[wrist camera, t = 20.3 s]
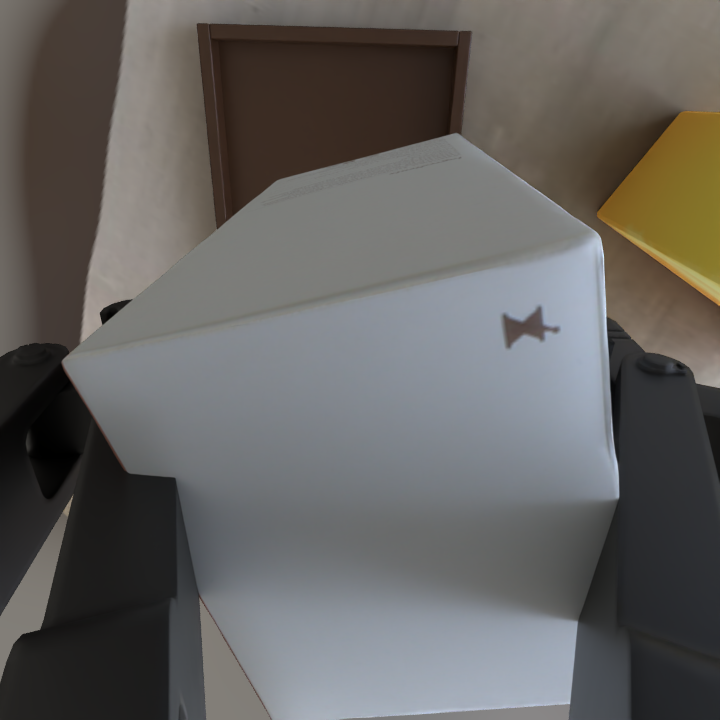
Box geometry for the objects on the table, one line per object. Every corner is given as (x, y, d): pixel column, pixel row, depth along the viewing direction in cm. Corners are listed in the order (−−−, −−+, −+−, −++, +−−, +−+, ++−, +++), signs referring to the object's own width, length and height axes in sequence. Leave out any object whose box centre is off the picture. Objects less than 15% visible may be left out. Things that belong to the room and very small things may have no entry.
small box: (273, 178, 17) (35, 351, 6) (460, 128, 16) (624, 218, 5) (337, 380, 21) (268, 736, 9) (494, 350, 20) (634, 709, 8)
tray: (467, 35, 29) (472, 31, 27) (431, 367, 39) (434, 380, 37) (207, 27, 29) (196, 23, 28) (237, 358, 39) (230, 370, 37)
